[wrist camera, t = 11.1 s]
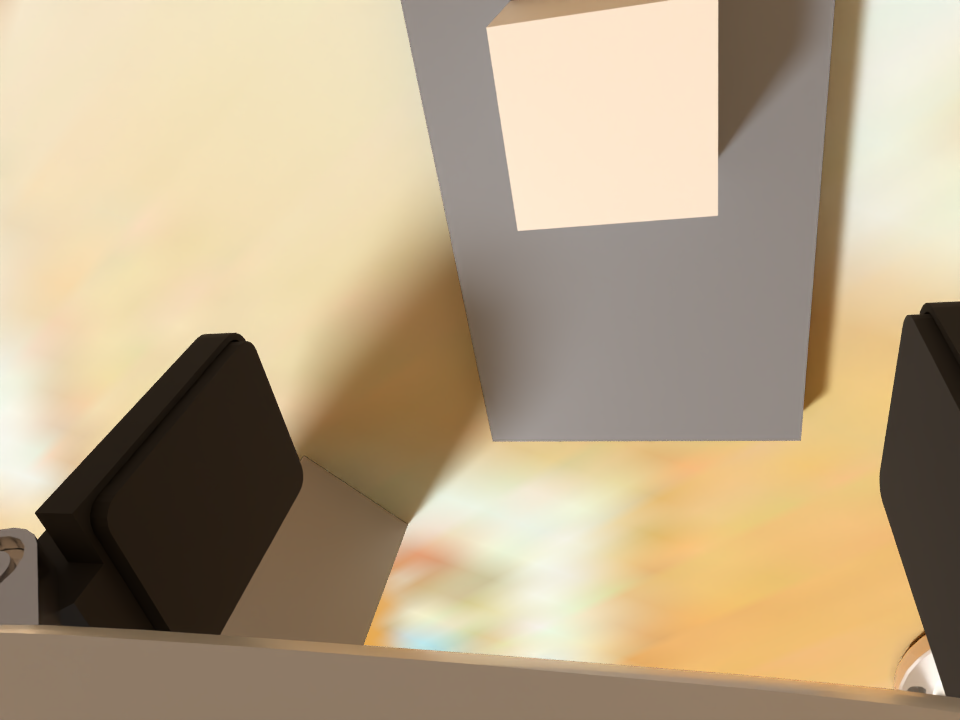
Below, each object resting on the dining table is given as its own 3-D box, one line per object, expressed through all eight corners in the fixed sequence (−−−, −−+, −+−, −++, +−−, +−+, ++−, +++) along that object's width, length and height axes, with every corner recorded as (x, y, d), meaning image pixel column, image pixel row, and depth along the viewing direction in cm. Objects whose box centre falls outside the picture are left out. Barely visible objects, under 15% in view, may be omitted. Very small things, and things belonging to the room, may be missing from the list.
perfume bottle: (304, 455, 39) (95, 816, 25) (407, 524, 41) (267, 903, 26) (250, 516, 43) (41, 861, 29) (346, 577, 45) (194, 934, 30)
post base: (835, -138, 21) (868, -132, 18) (795, 417, 32) (811, 488, 29) (403, -58, 25) (360, -40, 21) (498, 420, 35) (480, 484, 32)
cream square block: (710, -31, 22) (718, -7, 19) (711, 167, 25) (718, 215, 22) (510, 0, 24) (486, 27, 20) (534, 183, 27) (517, 230, 24)
